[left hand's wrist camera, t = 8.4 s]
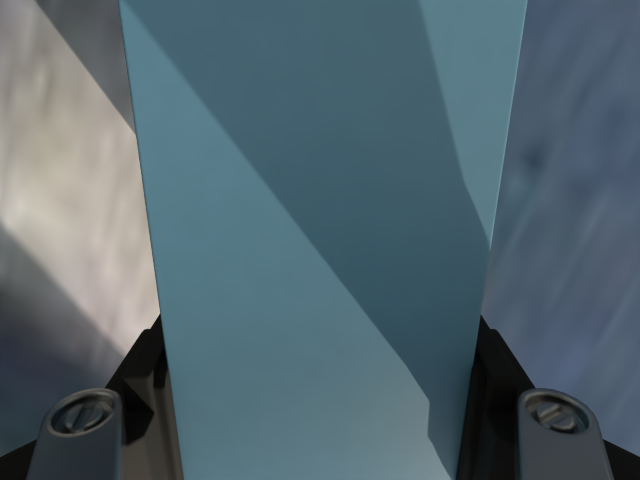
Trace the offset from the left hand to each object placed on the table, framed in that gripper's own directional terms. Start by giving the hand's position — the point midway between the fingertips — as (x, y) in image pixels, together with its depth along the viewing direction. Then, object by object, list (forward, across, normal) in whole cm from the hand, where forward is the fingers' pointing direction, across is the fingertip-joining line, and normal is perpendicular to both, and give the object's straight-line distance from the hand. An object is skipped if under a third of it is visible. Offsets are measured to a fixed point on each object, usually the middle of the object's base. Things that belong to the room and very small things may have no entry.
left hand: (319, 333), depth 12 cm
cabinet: (+8, 0, -6) cm, 10 cm away
